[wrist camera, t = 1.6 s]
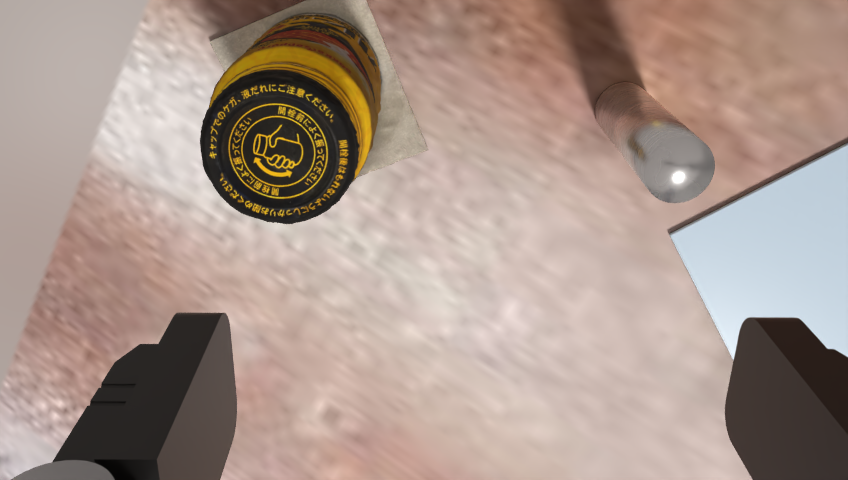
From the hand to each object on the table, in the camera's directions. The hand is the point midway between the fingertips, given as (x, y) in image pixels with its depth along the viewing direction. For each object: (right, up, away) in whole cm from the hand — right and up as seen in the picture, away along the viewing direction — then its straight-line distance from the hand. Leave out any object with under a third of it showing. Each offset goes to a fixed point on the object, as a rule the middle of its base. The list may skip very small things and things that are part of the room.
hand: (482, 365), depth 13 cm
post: (+8, +8, +25) cm, 28 cm away
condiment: (-6, +9, +25) cm, 27 cm away
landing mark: (+21, 0, +29) cm, 36 cm away
